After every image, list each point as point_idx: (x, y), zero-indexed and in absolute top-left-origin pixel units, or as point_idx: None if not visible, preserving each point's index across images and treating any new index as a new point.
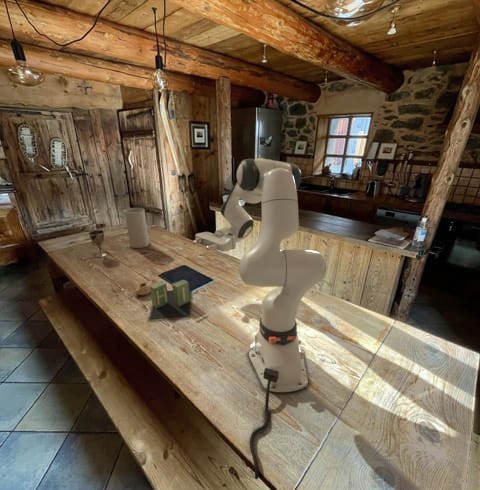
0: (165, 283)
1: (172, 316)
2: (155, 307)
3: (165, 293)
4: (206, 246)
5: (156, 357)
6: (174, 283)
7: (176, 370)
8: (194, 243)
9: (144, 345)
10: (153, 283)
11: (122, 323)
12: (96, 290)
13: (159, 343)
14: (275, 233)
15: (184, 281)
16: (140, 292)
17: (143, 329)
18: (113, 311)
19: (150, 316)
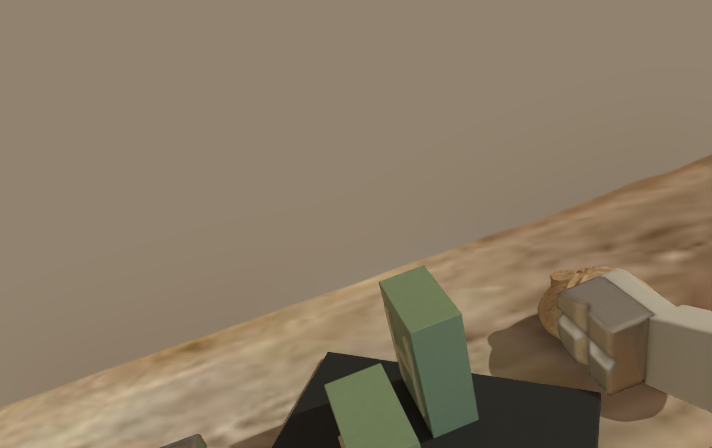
0: (414, 329)
1: (289, 441)
2: None
3: (411, 373)
4: (190, 437)
5: (117, 372)
6: (384, 376)
7: (12, 421)
8: (566, 314)
9: (200, 343)
10: None
11: (370, 282)
12: (672, 188)
13: (170, 384)
14: None
15: (378, 443)
16: (546, 295)
17: (288, 339)
18: (469, 252)
19: (349, 355)
